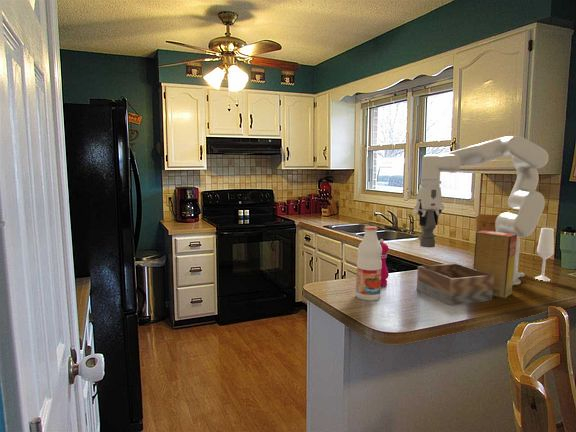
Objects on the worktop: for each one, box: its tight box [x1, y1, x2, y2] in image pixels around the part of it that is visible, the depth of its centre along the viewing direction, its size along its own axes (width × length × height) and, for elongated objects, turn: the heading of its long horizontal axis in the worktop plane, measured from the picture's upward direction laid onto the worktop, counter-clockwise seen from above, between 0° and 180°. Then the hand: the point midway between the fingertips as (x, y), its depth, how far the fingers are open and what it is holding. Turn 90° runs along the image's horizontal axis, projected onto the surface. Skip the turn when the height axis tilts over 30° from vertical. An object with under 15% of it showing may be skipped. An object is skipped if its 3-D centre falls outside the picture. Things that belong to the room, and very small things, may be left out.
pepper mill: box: [379, 238, 390, 287], centre depth 173 cm, size 7×7×20 cm
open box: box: [416, 262, 494, 306], centre depth 161 cm, size 20×20×10 cm
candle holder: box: [419, 190, 437, 249], centre depth 175 cm, size 6×6×25 cm
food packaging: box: [472, 230, 517, 299], centre depth 164 cm, size 13×9×25 cm
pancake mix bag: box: [475, 213, 500, 235], centre depth 205 cm, size 7×19×28 cm, turn 55°
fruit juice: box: [355, 225, 382, 302], centre depth 155 cm, size 9×9×28 cm
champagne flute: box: [534, 227, 555, 282], centre depth 186 cm, size 7×7×24 cm
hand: (428, 224), depth 175 cm, fingers closed on candle holder, 5 cm apart
